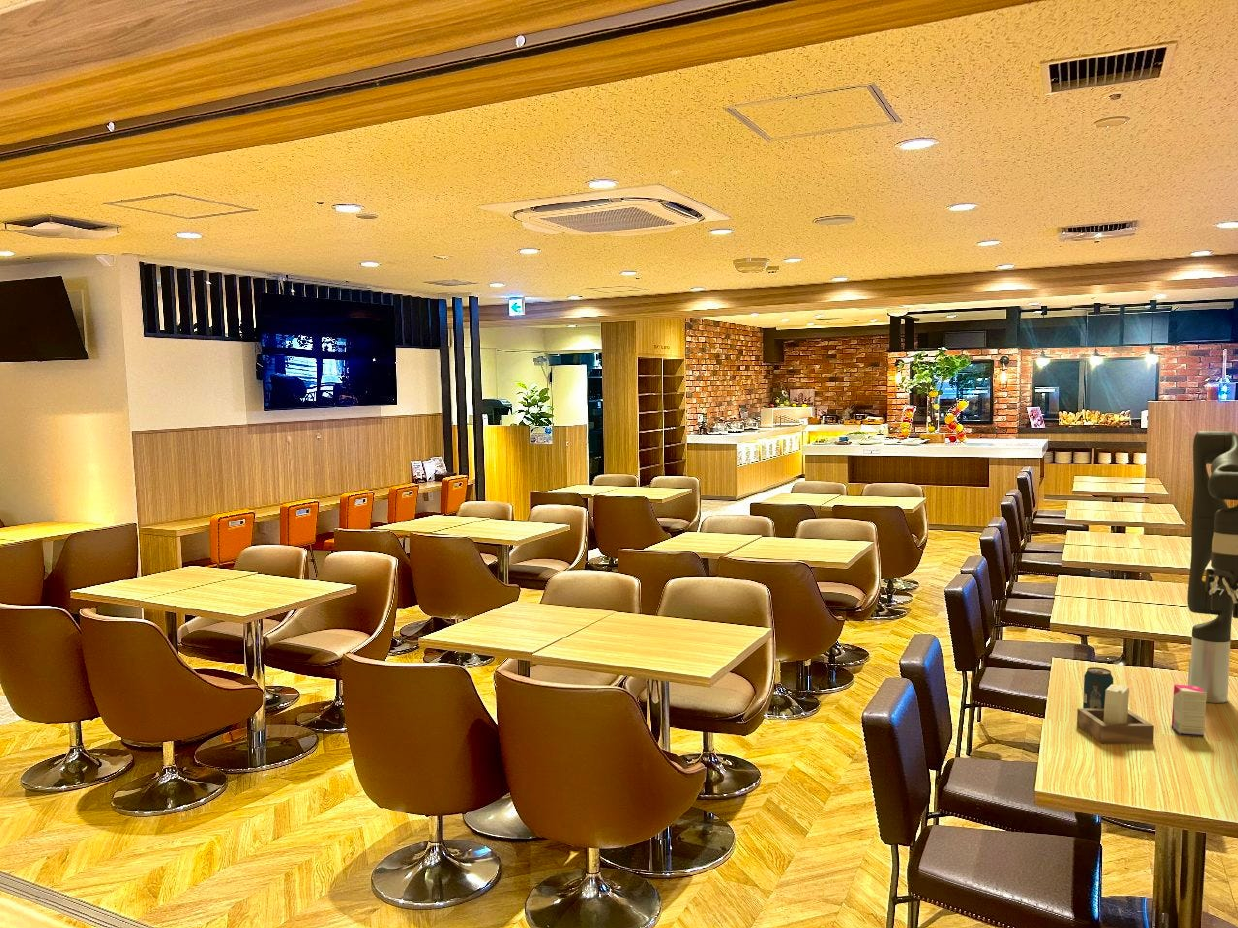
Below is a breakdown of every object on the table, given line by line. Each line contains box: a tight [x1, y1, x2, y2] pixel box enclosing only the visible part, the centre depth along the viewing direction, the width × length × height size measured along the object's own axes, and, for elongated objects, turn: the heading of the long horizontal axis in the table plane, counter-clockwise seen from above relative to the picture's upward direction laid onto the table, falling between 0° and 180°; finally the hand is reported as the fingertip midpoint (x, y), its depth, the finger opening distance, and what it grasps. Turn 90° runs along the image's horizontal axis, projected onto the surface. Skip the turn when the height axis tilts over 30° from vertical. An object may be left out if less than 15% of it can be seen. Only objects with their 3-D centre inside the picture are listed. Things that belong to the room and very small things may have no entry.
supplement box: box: [1171, 684, 1207, 738], centre depth 237 cm, size 6×6×12 cm
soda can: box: [1082, 666, 1114, 708], centre depth 250 cm, size 7×7×12 cm
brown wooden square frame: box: [1076, 707, 1155, 745], centre depth 236 cm, size 13×13×4 cm
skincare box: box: [1103, 683, 1130, 724], centre depth 235 cm, size 6×4×12 cm
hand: (1226, 613), depth 236 cm, fingers open, 8 cm apart
